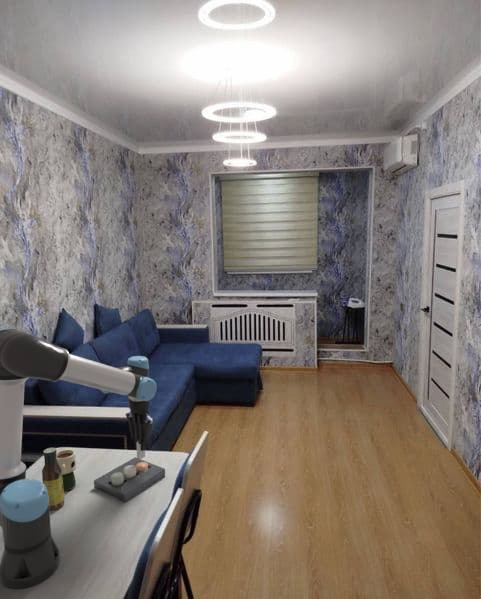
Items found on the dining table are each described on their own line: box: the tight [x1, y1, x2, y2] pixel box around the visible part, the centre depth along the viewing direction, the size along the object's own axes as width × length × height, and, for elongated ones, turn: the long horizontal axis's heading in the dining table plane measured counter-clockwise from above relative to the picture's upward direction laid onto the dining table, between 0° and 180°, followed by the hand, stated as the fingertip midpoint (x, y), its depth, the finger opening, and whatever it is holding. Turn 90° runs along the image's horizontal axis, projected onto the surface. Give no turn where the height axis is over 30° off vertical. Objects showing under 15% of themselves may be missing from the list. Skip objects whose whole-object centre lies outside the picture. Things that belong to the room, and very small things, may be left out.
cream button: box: [124, 465, 136, 480], centre depth 165 cm, size 4×4×4 cm
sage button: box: [111, 472, 124, 487], centre depth 160 cm, size 4×4×4 cm
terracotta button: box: [136, 461, 148, 472], centre depth 170 cm, size 4×4×4 cm
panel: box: [93, 456, 166, 503], centre depth 165 cm, size 20×16×3 cm
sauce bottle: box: [41, 447, 65, 511], centre depth 150 cm, size 6×6×20 cm
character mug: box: [56, 448, 77, 491], centre depth 161 cm, size 11×7×13 cm, turn 15°
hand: (141, 457), depth 169 cm, fingers closed
